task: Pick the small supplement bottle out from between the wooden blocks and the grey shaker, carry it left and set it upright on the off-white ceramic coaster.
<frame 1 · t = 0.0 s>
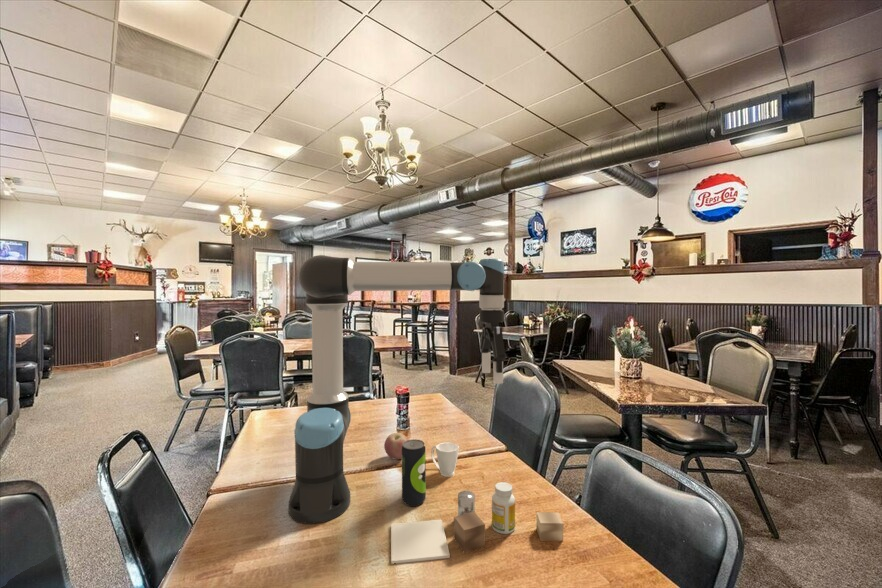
hand: (491, 377, 115), 28 cm above the table, fingers open, 13 cm apart
beverage can: (413, 501, 98), on the table
walnut block: (469, 543, 82), on the table
cup: (443, 472, 113), on the table
grey shaker: (466, 519, 90), on the table
apple: (396, 459, 122), on the table
oak block: (549, 535, 84), on the table
coaster: (418, 541, 82), on the table
supplement bottle: (503, 528, 87), on the table
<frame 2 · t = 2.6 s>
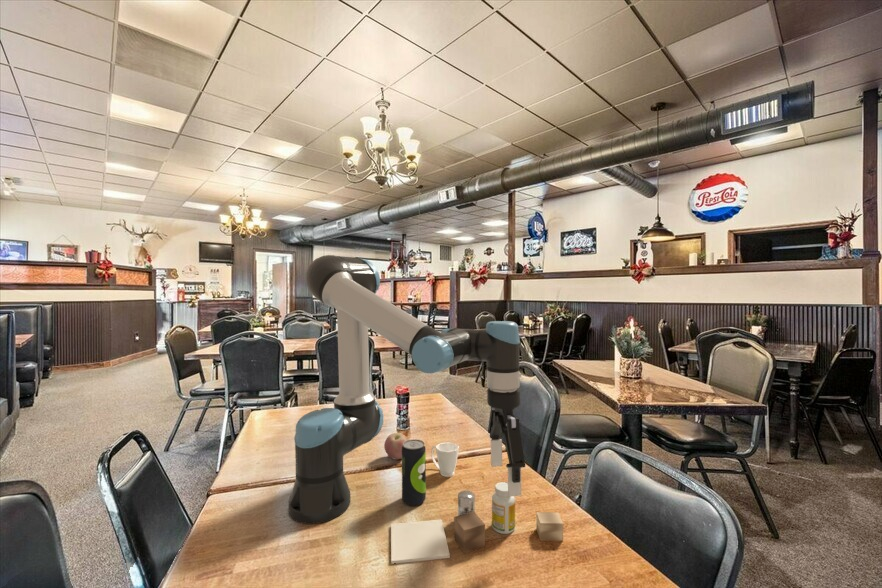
hand: (505, 479, 87), 11 cm above the table, fingers open, 13 cm apart
nothing on the table moved.
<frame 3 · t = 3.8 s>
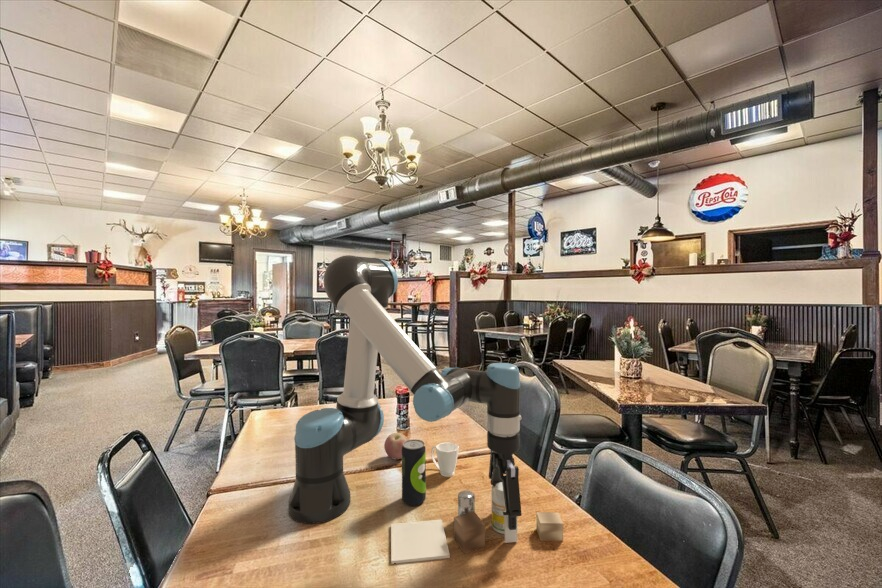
hand: (503, 526, 87), 0 cm above the table, fingers open, 10 cm apart
nothing on the table moved.
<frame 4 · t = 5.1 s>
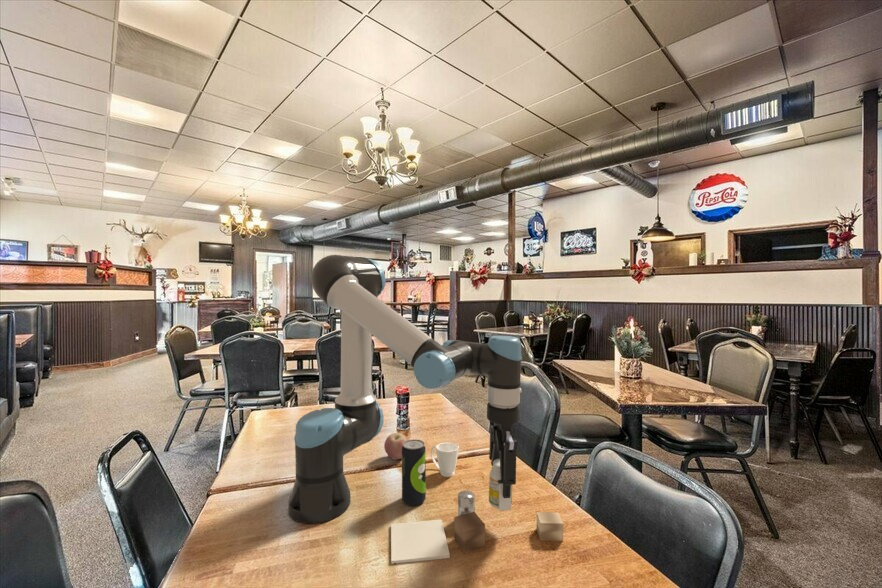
hand: (500, 501, 87), 6 cm above the table, fingers closed on supplement bottle, 5 cm apart
supplement bottle: (500, 503, 87), point 5 cm above the table, touching gripper
everything else where it was.
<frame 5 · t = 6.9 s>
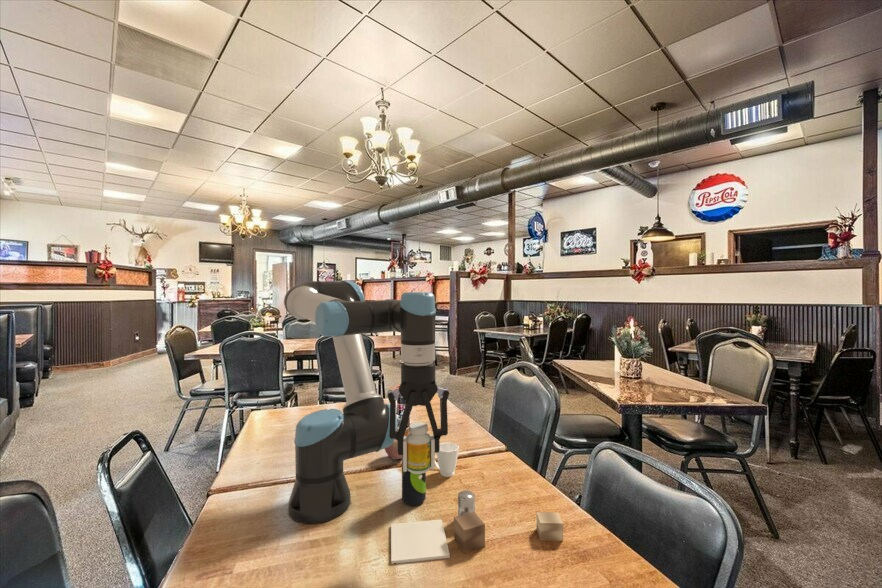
hand: (418, 467, 82), 16 cm above the table, fingers closed on supplement bottle, 5 cm apart
supplement bottle: (418, 469, 82), point 16 cm above the table, touching gripper
everything else where it was.
when the fingers open (2 cm above the table, at t = 8.8 s): supplement bottle stays where it is, resting on coaster.
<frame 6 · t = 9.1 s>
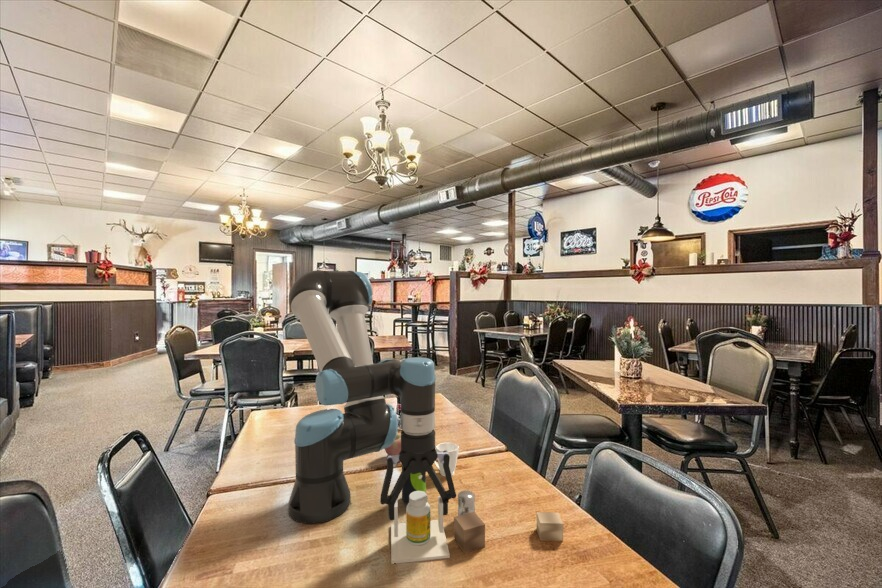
hand: (418, 530, 82), 2 cm above the table, fingers open, 9 cm apart
supplement bottle: (418, 539, 82), resting on coaster
everything else where it was.
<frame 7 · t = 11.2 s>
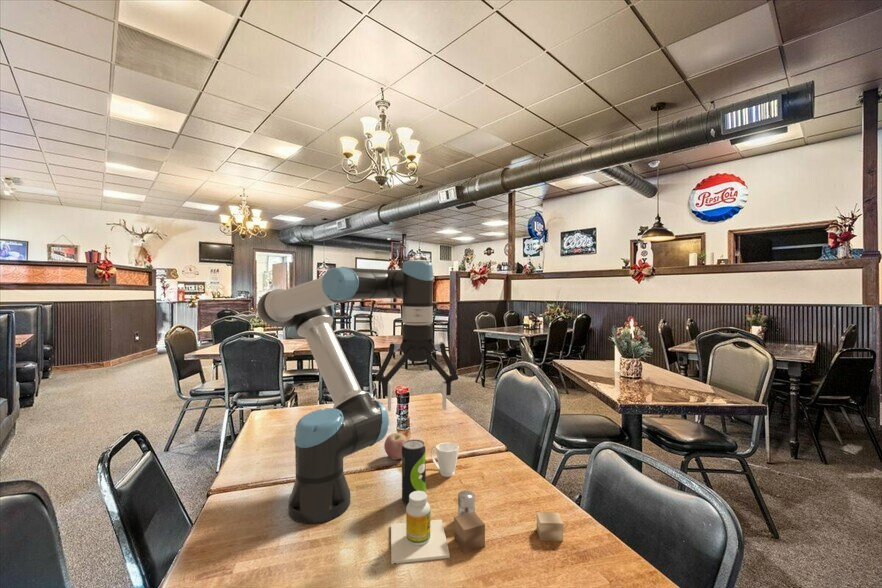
hand: (417, 408, 93), 26 cm above the table, fingers open, 13 cm apart
nothing on the table moved.
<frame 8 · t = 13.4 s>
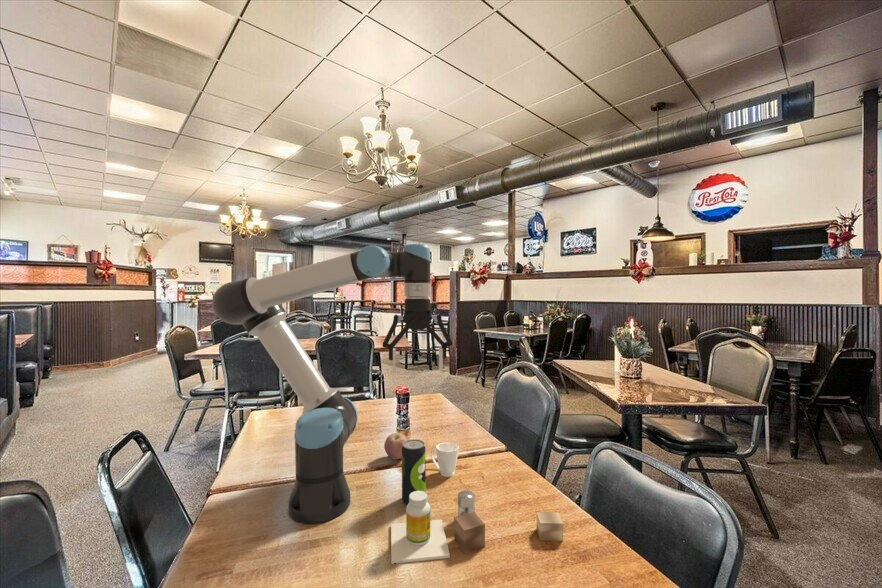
hand: (417, 370, 109), 32 cm above the table, fingers open, 13 cm apart
nothing on the table moved.
at the end: supplement bottle 0.1 cm from the coaster (horizontally); supplement bottle tilted 0°; supplement bottle resting on coaster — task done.
